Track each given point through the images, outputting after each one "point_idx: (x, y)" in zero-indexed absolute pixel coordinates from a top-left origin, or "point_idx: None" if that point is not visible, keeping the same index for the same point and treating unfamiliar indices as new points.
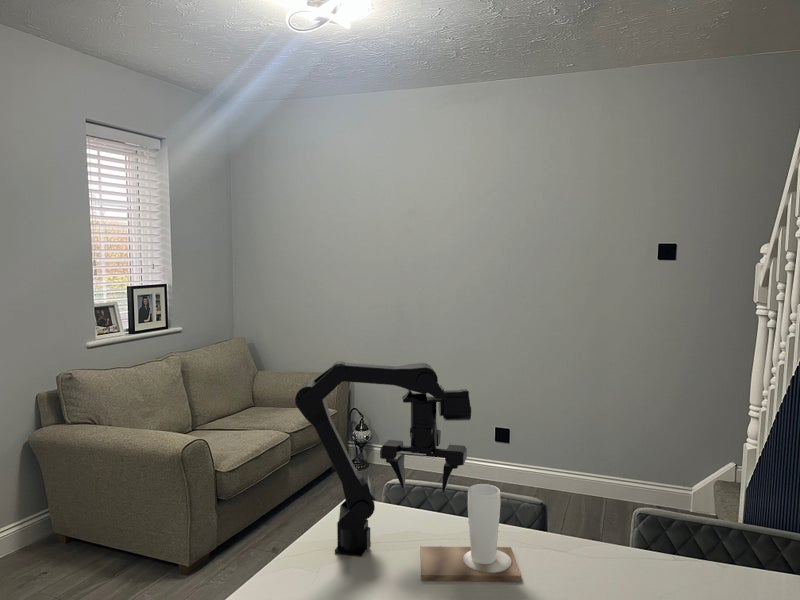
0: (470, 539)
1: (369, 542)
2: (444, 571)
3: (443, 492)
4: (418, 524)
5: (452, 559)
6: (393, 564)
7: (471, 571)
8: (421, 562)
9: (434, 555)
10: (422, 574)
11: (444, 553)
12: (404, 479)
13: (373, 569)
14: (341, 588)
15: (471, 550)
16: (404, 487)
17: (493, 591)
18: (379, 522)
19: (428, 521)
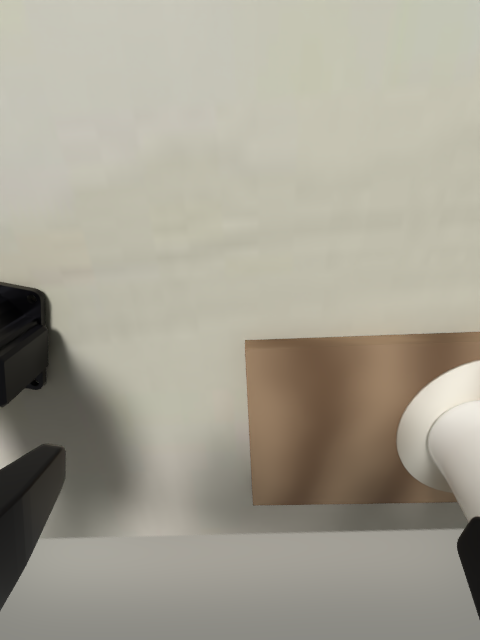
0: (462, 503)
1: (40, 347)
2: (323, 488)
3: (464, 548)
4: (226, 57)
5: (359, 429)
6: (162, 419)
7: (407, 487)
8: (252, 448)
9: (298, 406)
10: (257, 503)
11: (336, 394)
12: (5, 545)
13: (107, 446)
14: (51, 522)
15: (442, 469)
16: (63, 469)
17: (442, 522)
18: (9, 45)
19: (282, 4)
